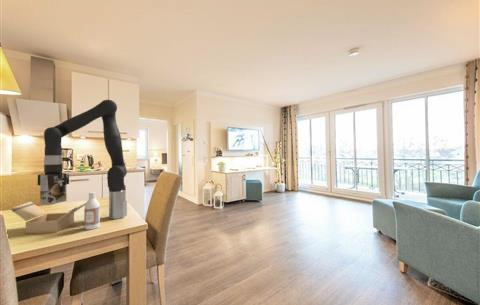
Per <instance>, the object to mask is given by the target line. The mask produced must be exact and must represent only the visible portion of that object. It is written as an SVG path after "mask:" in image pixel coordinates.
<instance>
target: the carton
mask: <svg viewBox="0 0 480 305" xmlns="http://www.w3.org/2000/svg"><path fill="white" fill-rule="evenodd" d="M66 213H67V212H51V213H45V214H42V215H40V216H37V217H35V218H32V219H29V220H27V221H25V234H27V235H28V234H32V235H33V234H47V233H58V232H60V231H61V230H63V229H65V228H67V227H69V226H70V225H72V224H74V223H75V212H74V213H72V214H70V215H67V216H65V217H63V218H61V219H59V218H60V217H62V216H63V215H65V214H66Z"/></svg>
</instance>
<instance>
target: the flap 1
mask: <svg viewBox="0 0 480 305" xmlns="http://www.w3.org/2000/svg"><path fill="white" fill-rule="evenodd" d="M9 210H11V211H12V213H15V215H17V216H18V217H20V218H21V219H22V220H24V221H25V222H28V221H30V220H33V219H35V218H38V217H40V216H43V215H45V214H47V213H46V212H45V211H44V210H43V209H42V208H40V207H39V206H37V204H35V203H33V202H32V201H28V202H25V203H21V204H19V205H18V204H17V205H15V206H13V207H9Z"/></svg>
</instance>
